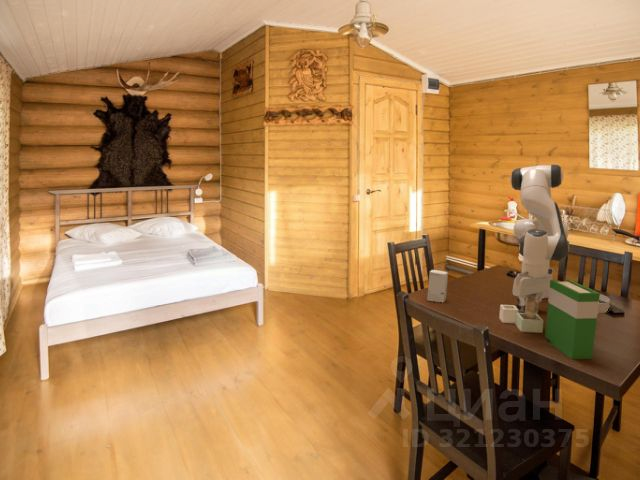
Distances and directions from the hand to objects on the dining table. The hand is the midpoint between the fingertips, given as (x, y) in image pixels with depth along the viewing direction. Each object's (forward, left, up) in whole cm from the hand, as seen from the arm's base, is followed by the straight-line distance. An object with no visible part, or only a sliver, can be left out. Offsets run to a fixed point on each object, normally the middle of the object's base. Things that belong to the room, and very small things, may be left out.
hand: (530, 303), depth 180 cm
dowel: (0, 0, -11) cm, 11 cm away
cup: (-8, -6, -12) cm, 15 cm away
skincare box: (-35, -33, -12) cm, 50 cm away
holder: (0, 0, -12) cm, 12 cm away
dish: (-37, +35, -12) cm, 52 cm away
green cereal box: (+16, +9, -12) cm, 22 cm away
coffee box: (-23, +6, -12) cm, 27 cm away
